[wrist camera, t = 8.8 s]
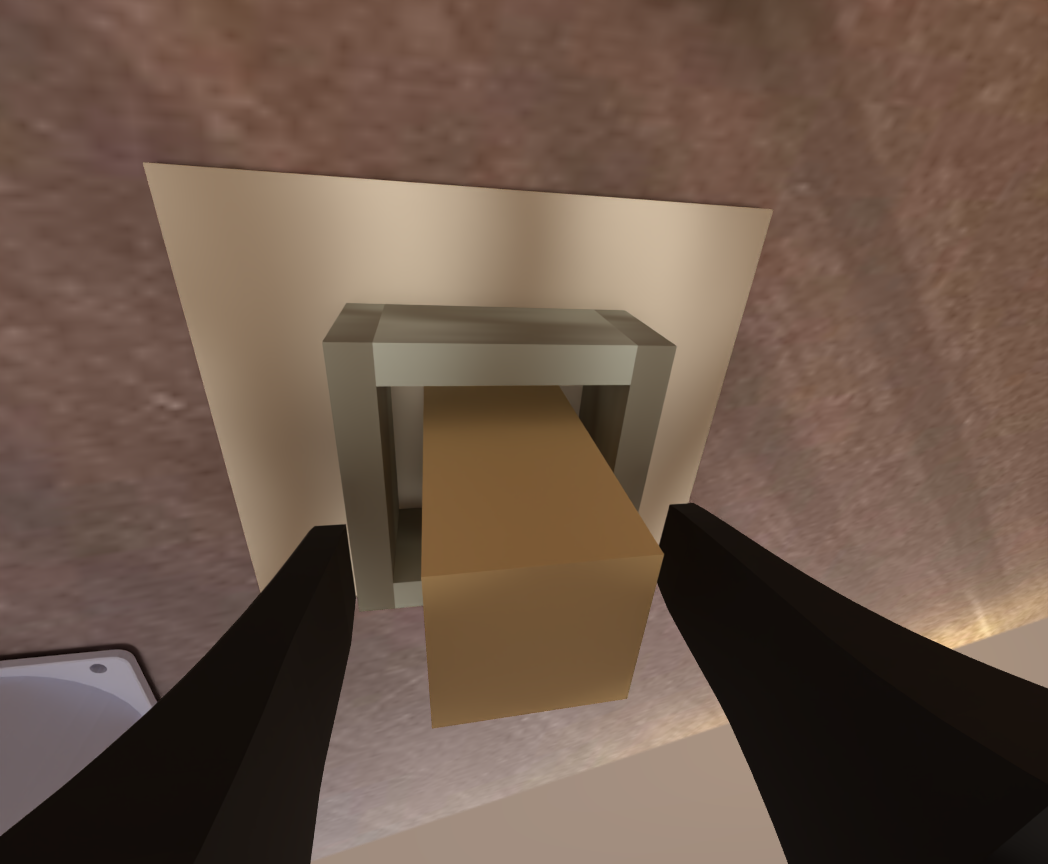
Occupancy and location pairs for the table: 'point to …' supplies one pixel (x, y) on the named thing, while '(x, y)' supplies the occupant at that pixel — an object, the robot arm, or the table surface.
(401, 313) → the socket stand
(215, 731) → the robot arm
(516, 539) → the peg
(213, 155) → the table surface
